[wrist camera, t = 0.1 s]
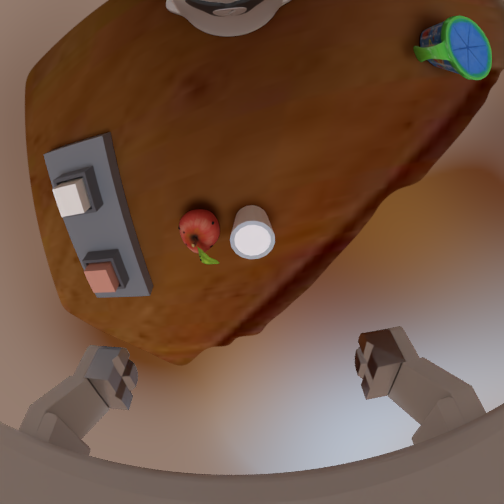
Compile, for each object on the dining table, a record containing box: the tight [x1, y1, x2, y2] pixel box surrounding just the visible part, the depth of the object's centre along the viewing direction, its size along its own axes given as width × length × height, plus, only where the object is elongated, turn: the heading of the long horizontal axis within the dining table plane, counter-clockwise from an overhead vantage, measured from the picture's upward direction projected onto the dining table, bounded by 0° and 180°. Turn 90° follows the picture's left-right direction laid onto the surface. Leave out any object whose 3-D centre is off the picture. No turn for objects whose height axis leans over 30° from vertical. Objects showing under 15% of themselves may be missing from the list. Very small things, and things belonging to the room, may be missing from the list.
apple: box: [178, 209, 220, 264], centre depth 45 cm, size 8×7×10 cm
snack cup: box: [413, 16, 492, 80], centre depth 27 cm, size 16×10×10 cm
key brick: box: [84, 261, 120, 293], centre depth 48 cm, size 5×5×3 cm
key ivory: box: [52, 177, 91, 217], centre depth 39 cm, size 5×5×3 cm
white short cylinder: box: [230, 205, 275, 259], centre depth 47 cm, size 7×7×7 cm
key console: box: [44, 132, 153, 297], centre depth 46 cm, size 32×13×6 cm, turn 5°
